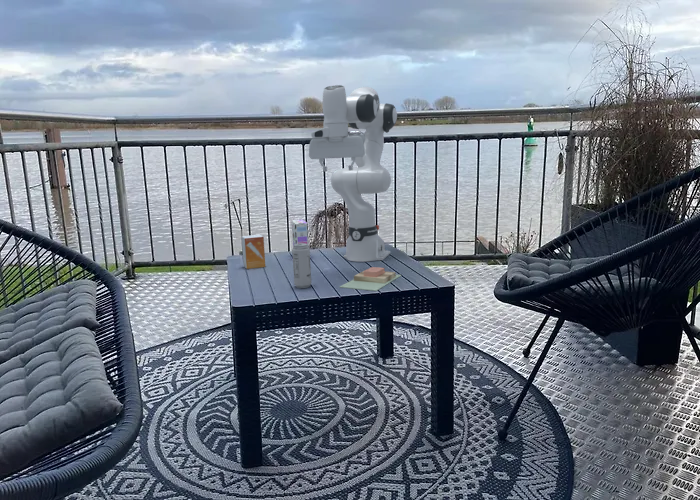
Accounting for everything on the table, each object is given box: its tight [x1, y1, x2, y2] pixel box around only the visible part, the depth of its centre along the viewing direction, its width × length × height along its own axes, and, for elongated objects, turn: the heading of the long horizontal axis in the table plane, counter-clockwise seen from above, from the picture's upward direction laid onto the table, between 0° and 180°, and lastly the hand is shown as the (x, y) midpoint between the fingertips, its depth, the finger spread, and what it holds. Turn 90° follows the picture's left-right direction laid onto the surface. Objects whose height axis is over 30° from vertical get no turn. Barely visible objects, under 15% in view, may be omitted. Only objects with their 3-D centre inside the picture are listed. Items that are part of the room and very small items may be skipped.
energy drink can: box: [291, 243, 312, 289], centre depth 181 cm, size 6×6×15 cm
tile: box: [363, 266, 385, 277], centre depth 187 cm, size 7×5×2 cm
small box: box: [241, 234, 266, 270], centre depth 216 cm, size 8×6×13 cm
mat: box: [339, 274, 402, 292], centre depth 186 cm, size 22×14×1 cm, turn 152°
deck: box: [353, 270, 397, 283], centre depth 188 cm, size 10×12×2 cm
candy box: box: [290, 219, 310, 248], centre depth 231 cm, size 14×6×16 cm, turn 12°
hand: (337, 170), depth 189 cm, fingers open, 8 cm apart
